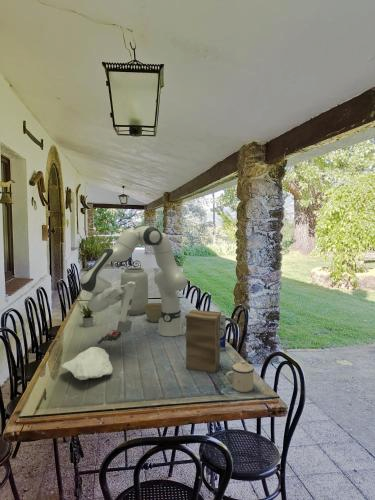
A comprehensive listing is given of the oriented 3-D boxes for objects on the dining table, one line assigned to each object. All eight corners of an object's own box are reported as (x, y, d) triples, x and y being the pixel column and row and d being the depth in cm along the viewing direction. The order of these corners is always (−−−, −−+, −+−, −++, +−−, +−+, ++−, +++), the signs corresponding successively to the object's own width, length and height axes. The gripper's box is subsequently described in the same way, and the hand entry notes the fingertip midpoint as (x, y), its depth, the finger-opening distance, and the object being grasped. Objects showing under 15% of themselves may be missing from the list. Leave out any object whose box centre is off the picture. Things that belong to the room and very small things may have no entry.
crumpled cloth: (50, 388, 153) (53, 367, 152) (70, 355, 188) (72, 338, 187) (107, 394, 155) (110, 373, 154) (116, 361, 190) (119, 344, 189)
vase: (118, 311, 282) (117, 267, 279) (143, 308, 290) (143, 266, 287) (125, 317, 263) (124, 271, 260) (151, 314, 272) (151, 269, 269)
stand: (191, 359, 187) (192, 309, 184) (220, 363, 182) (221, 312, 180) (184, 369, 175) (184, 315, 173) (215, 373, 171) (216, 318, 168)
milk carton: (213, 351, 198) (213, 315, 196) (209, 347, 204) (209, 312, 202) (225, 350, 200) (226, 314, 198) (221, 346, 206) (221, 311, 204)
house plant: (104, 323, 250) (103, 299, 248) (97, 329, 236) (96, 304, 235) (83, 322, 251) (83, 299, 250) (75, 328, 238) (75, 304, 236)
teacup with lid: (250, 382, 162) (250, 356, 161) (256, 392, 153) (256, 364, 152) (223, 383, 160) (223, 357, 159) (228, 393, 151) (228, 366, 150)
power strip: (131, 281, 193) (140, 283, 192) (122, 327, 197) (130, 330, 196) (126, 283, 187) (135, 285, 186) (116, 330, 191) (125, 333, 190)
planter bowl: (166, 324, 248) (166, 308, 247) (143, 323, 249) (142, 308, 248) (168, 317, 264) (168, 302, 263) (146, 317, 265) (146, 302, 264)
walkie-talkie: (108, 333, 229) (96, 344, 209) (108, 326, 228) (96, 337, 209) (122, 334, 227) (110, 345, 208) (122, 327, 227) (110, 338, 207)
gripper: (100, 293, 184) (122, 281, 179) (120, 286, 203) (139, 274, 199) (106, 304, 183) (128, 292, 179) (125, 296, 203) (145, 285, 198)
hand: (134, 283), depth 189 cm, fingers closed on power strip, 4 cm apart
